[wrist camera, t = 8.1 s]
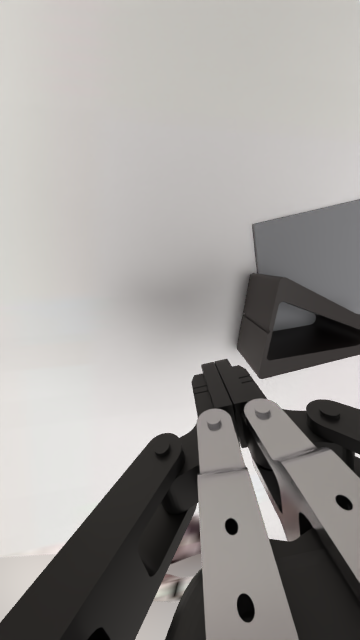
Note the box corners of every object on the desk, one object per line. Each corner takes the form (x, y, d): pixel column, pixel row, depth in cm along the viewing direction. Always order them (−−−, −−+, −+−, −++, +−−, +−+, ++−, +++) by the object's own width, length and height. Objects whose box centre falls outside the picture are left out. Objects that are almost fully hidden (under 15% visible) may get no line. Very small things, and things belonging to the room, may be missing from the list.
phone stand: (280, 276, 15) (423, 289, 16) (250, 272, 21) (356, 282, 22) (257, 379, 18) (382, 386, 18) (236, 350, 23) (332, 356, 24)
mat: (390, 192, 20) (395, 191, 19) (379, 338, 24) (382, 339, 24) (252, 224, 20) (254, 224, 20) (266, 362, 24) (268, 364, 24)
